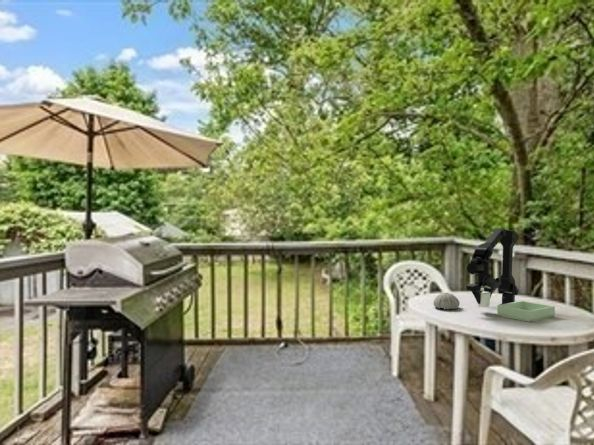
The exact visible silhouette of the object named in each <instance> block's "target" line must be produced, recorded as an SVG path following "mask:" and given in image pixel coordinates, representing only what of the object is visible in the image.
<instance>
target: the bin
mask: <svg viewBox="0 0 594 445" xmlns="http://www.w3.org/2000/svg"><path fill="white" fill-rule="evenodd" d="M500 304H501V305H500ZM500 304H497V309H496V310H497V313H496V315H497V316H499V317H504V318H508V319H509V318H510V319H513V320H517V321H518V320H519V321H523V322H528V323H532V322H538V321H542V320H546V319H551V318H555V316H556V310H555V309H556V307H555V306H554V305H549V304H543V303H539V302H532V301H527V300H526V301H525V300H517V301H515V302H512V303H506V304H502V303H500Z"/></svg>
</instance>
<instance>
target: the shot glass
mask: <svg viewBox="0 0 594 445" xmlns="http://www.w3.org/2000/svg"><path fill="white" fill-rule="evenodd" d="M482 291H483V292H482V293H481V300H480V304H478V303H476V304H477V308H489V307H490V305H491V298H490V295H491V293H490V292H486V291H484V290H482ZM491 296H492V295H491Z"/></svg>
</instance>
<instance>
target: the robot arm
mask: <svg viewBox="0 0 594 445" xmlns="http://www.w3.org/2000/svg"><path fill="white" fill-rule="evenodd" d="M517 239H518V233H517V232H516V231H515V230H512V229H511V230H508V229H506V228H499V227H498V228H495V229H494V231H493V232H492V234H491V235H490V236H489V237H488V239H487V240H485V242H483V243H482V244H479V245H478V246H476V248H475V249H474V251H473V254H472V257H471V259H470V262H469V263H468V264H467V266H466V271H467V273H469V274H470V275H474V276H475V277H477V278H476V279H477V281H475V283H468V284H466V288H465V289H466V291H470V292H471V293H472V295H473V297H474V298H475V301H476V302H477V303H478V304H480V300H481V293H482V292H483V291H486V292H490V293H491V295H490V299H491V297H492V295H493V294H494V291H496V290H497V291H498V294H500V295H502V296H501V303H500V304H499V305H501V304H506V303H512V302H516V296H518V295H519V289H518V287H517V285H516V280H515V278H514V276H513V254H514V251H513V250H514V246H515V245H516V244H517ZM499 243H500V244H501V246H502V266H501V275H500V277H495V278H493V277H492V274H491V273H490V263H492V260H491V259H490V258H491V257H492V255H493V254H494V248H495V247H496V246H497V245H498V244H499ZM482 289H483V290H482ZM477 303H476V304H477Z"/></svg>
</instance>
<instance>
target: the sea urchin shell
mask: <svg viewBox="0 0 594 445" xmlns="http://www.w3.org/2000/svg"><path fill="white" fill-rule="evenodd" d="M460 305H461V304H460V300H459V299H458V298H457V296H455V295H454V294H453V293H449V292H442V293H439V294H438V295H436V297H435V298H434V299H433V306H434V308H436V307H438V308H437V309H440V308H445V309H444V310H456V309H458V308H459V307H460Z"/></svg>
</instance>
